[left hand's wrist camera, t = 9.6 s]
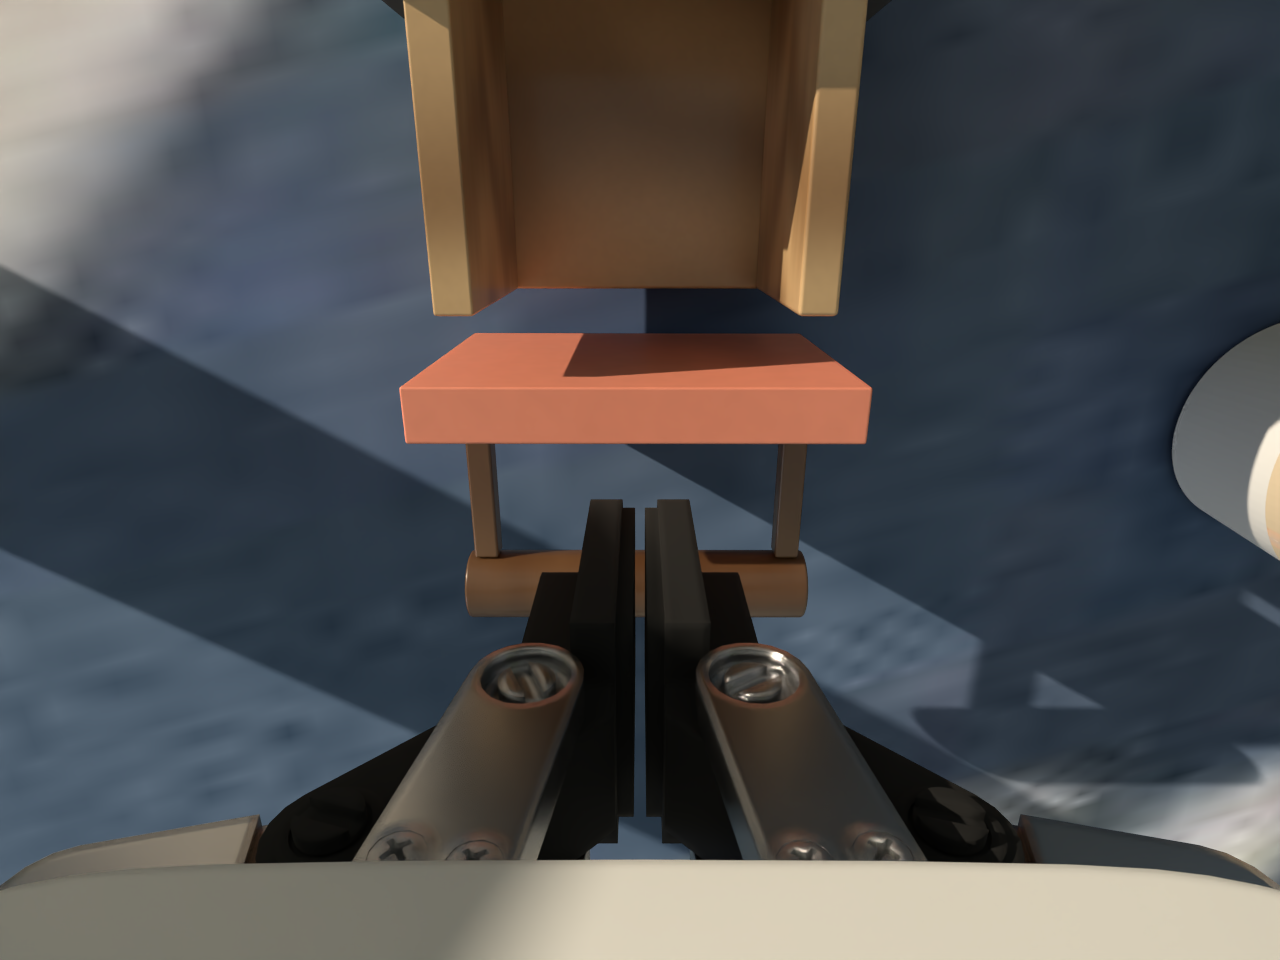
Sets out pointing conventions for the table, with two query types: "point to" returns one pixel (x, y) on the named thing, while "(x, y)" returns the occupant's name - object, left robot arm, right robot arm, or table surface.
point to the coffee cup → (1236, 441)
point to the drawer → (635, 241)
